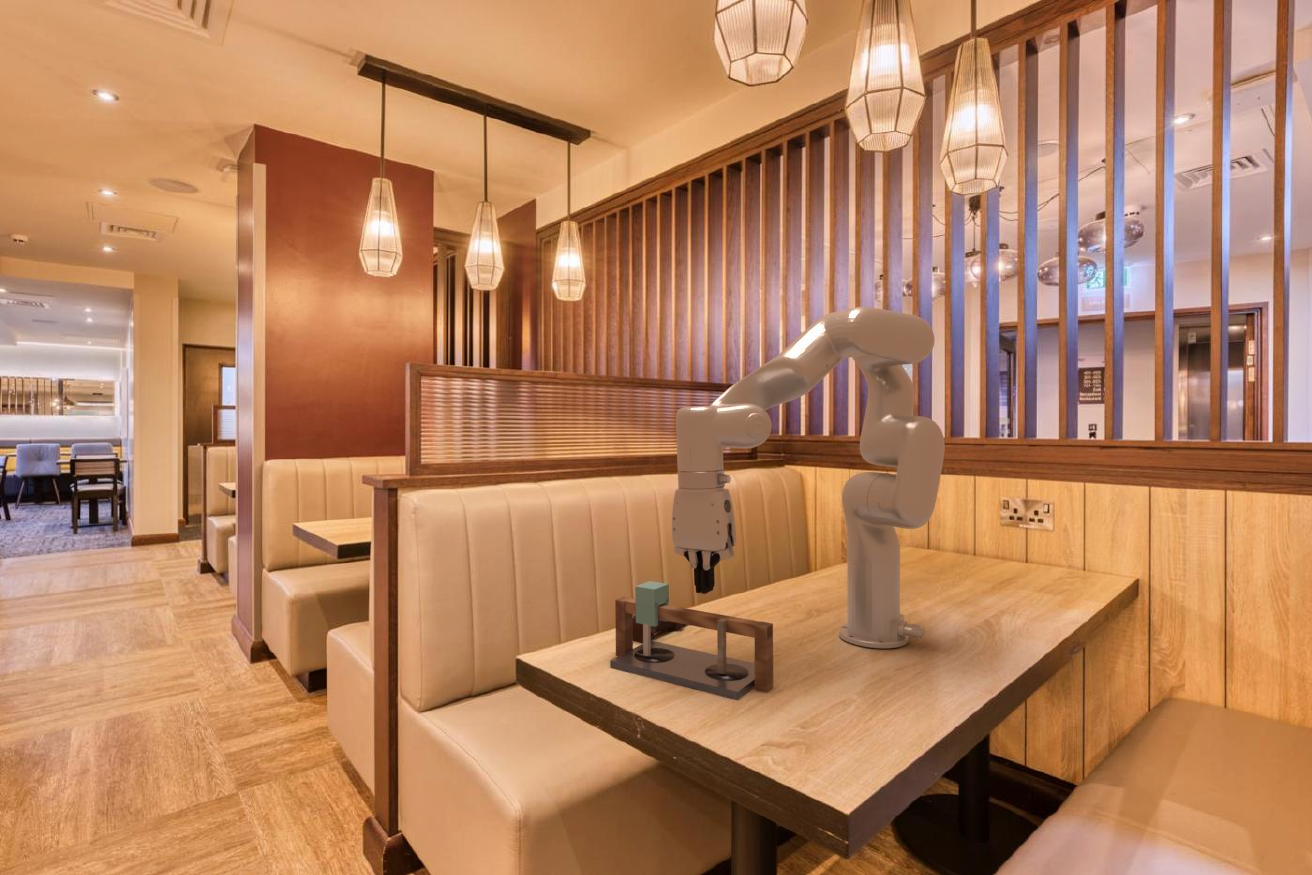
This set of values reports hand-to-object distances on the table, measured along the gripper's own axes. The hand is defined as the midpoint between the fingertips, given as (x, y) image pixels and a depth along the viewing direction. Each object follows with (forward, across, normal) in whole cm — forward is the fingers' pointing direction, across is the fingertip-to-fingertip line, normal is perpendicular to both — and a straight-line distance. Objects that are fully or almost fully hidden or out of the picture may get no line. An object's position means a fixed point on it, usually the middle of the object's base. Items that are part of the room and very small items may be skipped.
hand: (704, 591), depth 108 cm
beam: (+13, +3, +2) cm, 14 cm away
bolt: (+14, +17, -13) cm, 26 cm away
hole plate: (+13, +3, +2) cm, 14 cm away
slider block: (+11, +10, +1) cm, 15 cm away
